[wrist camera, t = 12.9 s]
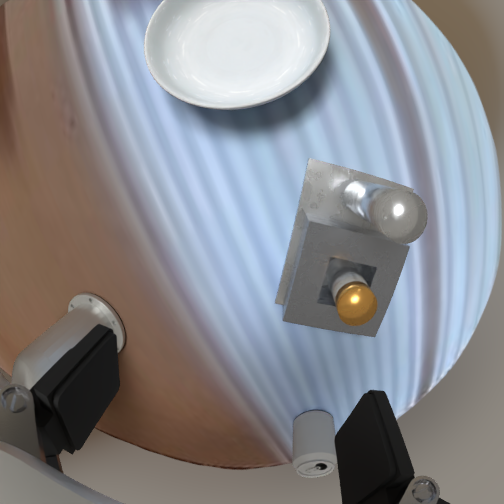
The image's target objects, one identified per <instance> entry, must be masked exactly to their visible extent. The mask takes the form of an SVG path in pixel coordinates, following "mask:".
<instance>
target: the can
mask: <svg viewBox="0 0 504 504" xmlns="http://www.w3.org/2000/svg"><path fill="white" fill-rule="evenodd" d="M334 440H335V430H334V421H333V417H332V416H331V415H330V414H328V413H326V412H323V411H319V410H312V411H308V412H305V413H303V414H301V415H300V416H298V417H297V418H296V419H295V420H294V423H293V458H292V465H293V467H294V468H295V469H296V472H297V474H299V475H300V476H303V477H321V476H324V475H327V474H329V473H331V472H332V471H333V470H334V468H335V467H334V466H335V464H336V463H337V456H336V449H335V442H334Z"/></svg>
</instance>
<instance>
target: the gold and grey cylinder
mask: <svg viewBox="0 0 504 504" xmlns="http://www.w3.org/2000/svg"><path fill="white" fill-rule="evenodd" d="M326 278H327V281H328V284H329V287H330V290H331V293H332V296H333V299H334V302H335V305H336V308H337V311H338V314H339V317H340V319H341V320H342V321H343V322H344V323H345V324H347V325H350V326H359V325H363V324H365V323H367V322H368V321H369V320H371V319H372V317H373V316H374V315H375V313H376V310H377V299H376V297H375V295H374V294H373V292H372V291H371V289H370V288H369V286H368V284H367V283H366V281H365V280H364V278H363V277H362V275H361V274H360V272H359V270H358V269H357V267H356V266H355V264H354V263H353V262H352V261H348V260H343V259H339V258H334V259H333V260H331V261H330V262H329V264H328V268H327V271H326Z"/></svg>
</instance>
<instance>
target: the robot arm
mask: <svg viewBox="0 0 504 504" xmlns="http://www.w3.org/2000/svg"><path fill="white" fill-rule="evenodd" d="M124 344H125V331H124V327H123V325H122V322H121V320H120V318H119V317H118V315H117V313H116V312H115V311H114V309H113V308H112V307H111V306H110V305H109V304H108V303H107V302H106V301H104V300H103V299H102V298H100V297H98V296H96V295H94V294H91V293H81V294H78V295H77V296H75V297H74V298H73V299H72V300H71V301H70V304H69V308H68V314H66V315H65V316H64V317H62V318H61V319H60V320H59V321H57V322H56V323H55V324H54V325H52V326H51V327H50V328H49V329H48V330H46V331H45V332H44V333H43V334H41V335H40V336H39V337H38V338H37V339H35V340H34V341H33V342H32V343H31V344H29V345H28V346H27V347H26V348H25V349H24V350H22V351H21V352H20V353H19V355H18V356H17V358H16V360H15V362H14V366H13V372H12V384H10V383H9V382H8V380H7V379H6V378H5V377H4V375H3V374H2V373H1V371H0V504H124V503H121V502H119V501H116V500H114V499H112V498H110V497H107V496H105V495H103V494H101V493H99V492H97V491H95V490H93V489H91V488H89V487H87V486H85V485H83V484H81V483H79V482H77V481H75V480H73V479H72V478H70V477H68V476H66V475H65V474H64V473H63V470H62V466H61V462H60V458H59V454H60V453H61V451H62V450H63V449H64V450H66V451H67V452H69V453H71V454H73V453H74V451H75V450H80V449H81V448H82V446H83V445H84V443H85V441H86V440H87V438H88V436H89V435H90V433H91V432H92V430H93V429H94V427H95V426H96V424H97V422H98V421H99V419H100V418H101V416H102V415H103V413H104V412H105V410H106V408H107V407H108V405H109V404H110V402H111V401H112V399H113V398H114V396H115V395H116V393H117V392H118V390H119V386H120V380H119V368H118V352H120V350H121V349H122V348H123V346H124ZM334 442H335V449H336V456H337V463H338V470H339V478H340V487H341V495H342V504H450V503H448V502H446V501H444V500H442V499H441V498H439V495H440V490H439V486H438V484H437V483H436V482H435V480H433V479H432V478H430V477H427V476H418V477H416V478H415V477H414V469H413V466H412V463H411V460H410V457H409V454H408V451H407V449H406V446H405V443H404V440H403V437H402V434H401V432H400V429H399V426H398V424H397V421H396V418H395V416H394V413H393V410H392V408H391V405H390V403H389V400H388V398H387V395H386V393H385V392H384V391H377V390H370V391H368V393H365V394H364V395H363V396H362V397H361V399H360V401H359V402H358V404H357V405H356V407H355V408H354V410H353V411H352V413H351V414H350V416H349V417H348V418H347V420H346V421H345V423H344V424H343V425H342V427H341V428H340V430H339V431H338V432H337V434H336V436H335V440H334Z"/></svg>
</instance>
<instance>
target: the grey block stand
mask: <svg viewBox="0 0 504 504" xmlns="http://www.w3.org/2000/svg"><path fill="white" fill-rule="evenodd" d="M413 190H414V189H412V188H409V187H406V186H403V185H400V184H397V183H394V182H391V181H388V180H385V179H382V178H379V177H376V176H373V175H369V174H366V173H363V172H359V171H356V170H352V169H349V168H345V167H341V166H338V165H334V164H330V163H326V162H322V161H318V160H314V159H310V158H309V159H308V163H307V168H306V172H305V177H304V182H303V186H302V191H301V195H300V200H299V204H298V209H297V213H296V217H295V222H294V226H293V230H292V235H291V239H290V243H289V247H288V251H287V255H286V260H285V264H284V268H283V272H282V276H281V280H280V284H279V288H278V292H277V295H276V299H275V303H276V304H281V305H283V321H286V322H291V323H296V324H301V325H306V326H311V327H317V328H322V329H328V330H333V331H339V332H345V333H351V334H357V335H364V336H370V337H375V336H376V334H377V331H378V329H379V327H380V325H381V322H382V320H383V318H384V315H385V313H386V310H387V308H388V306H389V303H390V301H391V298H392V296H393V293H394V290H395V288H396V285H397V282H398V280H399V277H400V274H401V271H402V268H403V266H404V263H405V260H406V257H407V254H408V250H409V247H410V246H408V245H407V244H408V243H411V242H413V241H415V240H416V239H418V238H419V237H420V236H421V234H422V233H423V231H424V229H425V227H426V224H427V209H426V206H425V204H424V202H423V200H422V199H421V198H420V197H419V196H418V195H416V194H415V193H413ZM334 258H339V259H343V260H348V261H352V262H353V263H354V264H355V266H356V267H357V269H358V270H359V272H360V274H361V275H362V277H363V278H364V280H365V281H366V283H367V284H368V286H369V288H370V289H371V291H372V292H373V294H374V295H375V297H376V299H377V310H376V313H375V315H374V316H373V317H372V319H371V320H369V321H368V322H367V323H365V324H363V325H359V326H350V325H347V324H345V323H344V322H343V321H342V320H341V319H340V317H339V314H338V311H337V308H336V305H335V302H334V299H333V296H332V293H331V290H330V287H329V284H328V281H327V278H326V271H327V268H328V264H329V262H330V261H331V260H333V259H334Z"/></svg>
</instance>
